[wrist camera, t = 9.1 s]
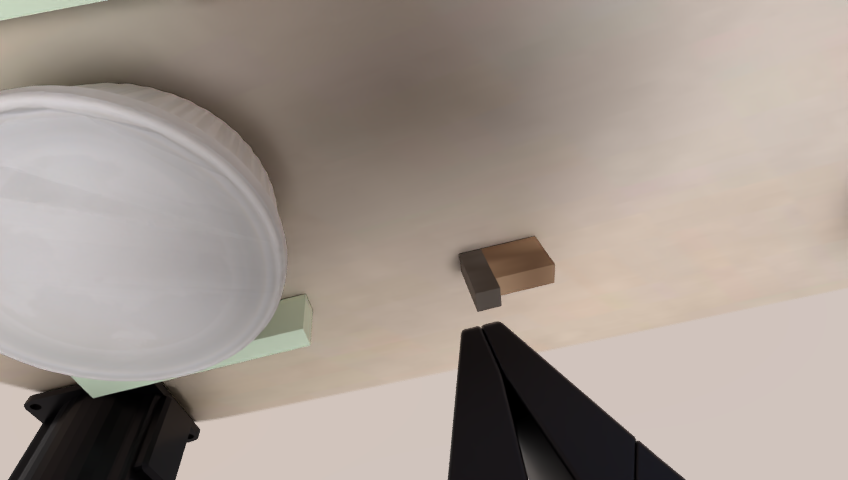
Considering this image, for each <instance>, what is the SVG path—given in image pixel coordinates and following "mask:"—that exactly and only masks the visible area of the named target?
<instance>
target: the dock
mask: <svg viewBox="0 0 848 480" xmlns="http://www.w3.org/2000/svg"><path fill="white" fill-rule="evenodd" d="M100 1H106V0H0V21H1V20H6V19H12V18H17V17H22V16H27V15H32V14H38V13H43V12H48V11H53V10H59V9H64V8H69V7H74V6H80V5H85V4H90V3H95V2H100ZM312 312H313V310H312V308H311V305H310V303H309V301H308V298H307V296H306V294H304V295H300V296H295V297H291V298H287V299H283V300H280V302H279V305H278V307H277V309H276V311H275V313H274V315H273V317H272V319H271V320H270V322H269V323H268V324H267V326H266V327H265V328H264V329H263V331H262V332H261V333H260V334H259V335H258V336H257V337H256V338H255V339H254V340H253V341H252V342H251V343H250V344H248V345H247V346H246V347H245V348H243V349H242V350H241V351H239V352H238V353H236V354H235V355H233V356H232V357H230V358H228V359H226V360H224V361H222V362H220V363H218V364H216V365H213V366H211V367H209V368H207V369H205V370H202V371H199V372H203V371H207V370H211V369H215V368H220V367H224V366H228V365H232V364H236V363H240V362H244V361H248V360H252V359H257V358H261V357H265V356H269V355H273V354H277V353H281V352H285V351H290V350H294V349H298V348H302V347H306V346H310V345H311V331H312ZM199 372H196V373H199ZM193 374H195V373H193ZM190 375H191V374H190ZM71 377H72V378H73V379H74V380H75V381H76V382H77V383H78V384H79V385H80V386H81V387H82V388H83V389H84V390H85V391H86V392H87V393H88V394H89V395H90V396H91V397H92V398H96V397H100V396H104V395H108V394H113V393H117V392H121V391H125V390H129V389H133V388H137V387H141V386H145V385H150V384H154V383H158V382H162V381H166V380H170V379H174V378H170V379H165V380H157V381H105V380H95V379H87V378H80V377H74V376H71Z"/></svg>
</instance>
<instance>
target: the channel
mask: <svg viewBox="0 0 848 480" xmlns="http://www.w3.org/2000/svg"><path fill="white" fill-rule="evenodd" d="M459 258H460V265H461V272H462V274H463V277H464V279H465V282H466V284H467V287H468V289H469V292H470V294H471V297H472V299H473V302H474V304H475V306H476V309H477V311H478V312H479V311H483V310H487V309H491V308H495V307H499V306H501V295H505V294H509V293H513V292H517V291H521V290H526V289H530V288H534V287H538V286H542V285H546V284H550V283H554V275H555V264H554V262H553V261H552V260H551V258H550V257H549V255H548V254H547V252H546V251H545V250H544V248H543V247H542V245H541V244H540V243H539V241H538V240H537V238H536V237H535V236H534V237H530V238H525V239H521V240H517V241H513V242H508V243H504V244H500V245H496V246H491V247H487V248H483V249H479V250H474V251H470V252H466V253H462V254H459Z"/></svg>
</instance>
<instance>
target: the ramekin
mask: <svg viewBox="0 0 848 480" xmlns="http://www.w3.org/2000/svg"><path fill="white" fill-rule="evenodd" d="M287 264H288V252H287V243H286V237H285V233H284V229H283V226H282V222H281V219H280V217H279V214H278V209H277V202H276V198H275V195H274V190H273V186H272V184H271V182H270V180H269V177H268V174H267V172H266V170H265V169H264V168H263V166H262V164H261V162H260V160H259V158H258V157H257V156H256V155H255V154H254V153H253V151H252V149H251V147H250V146H249V145H248V144H247V143H246V142H245V141H244V140H243V139H242V138H241V137H240V135H239V134H238V133H237V132H236V131H235V130H233V129H232V128H231V127H229V126H228V125H227V124H226V123H225V122H224V121H223V120H221V119H219V118H218V117H216V116H215V115H213V114H212V113H211V112H210V111H208V110H206V109H204V108H201V107H199V106H198V105H196V104H195V103H193V102H191V101H189V100H187V99H184V98H181V97H178V96H176V95H174V94H172V93H168V92H163V91H160V90H157V89H154V88H152V87H142V86H137V85H134V84H128V83H125V84H115V83H97V84H85V85H76V86H59V85H42V86H27V87H19V88H12V89H7V90H1V91H0V353H1V354H3V355H5V356H8V357H10V358H12V359H15V360H17V361H20V362H22V363H25V364H28V365H31V366H34V367H36V368H39V369H42V370H46V371H51V372H55V373H60V374H64V375H69V376H74V377H80V378H87V379H95V380H105V381H157V380H165V379H170V378H178V377H183V376H187V375H190V374H193V373H196V372H199V371H202V370H205V369H207V368H209V367H211V366H213V365H216V364H218V363H220V362H222V361H224V360H226V359H228V358H230V357H232V356H233V355H235V354H236V353H238V352H239V351H241V350H242V349H243V348H245V347H246V346H247V345H248V344H250V343H251V342H252V341H253V340H254V339H255V338H256V337H257V336H258V335H259V334H260V333H261V332H262V331H263V329H264V328H265V327H266V326H267V324H268V323H269V322H270V320H271V319H272V317H273V315H274V313H275V311H276V309H277V307H278V305H279V302H280V300H281V296H282V293H283V289H284V286H285V280H286V274H287Z"/></svg>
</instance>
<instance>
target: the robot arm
mask: <svg viewBox="0 0 848 480" xmlns="http://www.w3.org/2000/svg"><path fill="white" fill-rule="evenodd" d="M24 407H25V409H26V410H27V411H29V412H30V413H31V414H32V415H33V416H35V417H36V418H37V419H38V420H40V421H41V422H42V423H43V424H42V426H41V427H40V429H39V431H38V432H37V434H36V436H35V437H34V439H33V440H32V442H31V443H30V445H29V447H28V448H27V450H26V452H25V453H24V455H23V457H22V458H21V460H20V461H19V463H18V465H17V466H16V468H15V470H14V471H13V473H12V474H11V476H10V478H9V479H8V480H175V479H176V476H177V472H178V469H179V466H180V462H181V459H182V455H183V452H184V449H185V446H186V443H187V442H191V441H194V440H196V439H198V436H199V433H200V429H199V428H198V426H197V425H196V424H195V423H194V422H193V420H192V419H191V418H190V417H189V416H188V414H187V413H186V412H185V411H184V410H183V408H182V407H181V406H180V405H179V404H178V402H177V401H176V400H175V399H174V398H173V396H172V395H171V394H170V393H169V392H168V391H167V389H166V388H165V387H164V386H163V385H162V383H161V382H158V383H154V384H150V385H145V386H141V387H137V388H133V389H129V390H125V391H121V392H117V393H113V394H108V395H104V396H100V397H96V398H92V397H91V396H90V395H89V394H88V393H87V392H86V391H85V390H84V389H83V388H82V387H81V386H80V385H79V384H77V385H73V386H69V387H64V388H60V389H56V390H52V391H48V392H44V393H40V394H35V395H32V396H30V397H29V398H28V400H27V401H26V403H25V404H24ZM528 478H529V480H685V479H684V478H683V477H682V476H681V475H679V474H678V473H677V472H676V471H674V470H673V469H672V468H671V467H670V466H668V465H667V464H666V463H665V462H663V461H662V460H661V459H660V458H659V457H657V456H656V455H655V454H654V453H653V452H652V451H651V450H649V449H648V448H647V447H646V446H645V445H644V444H642V443H641V442H640V441H636V439H635V437H634V436H633V435H632V434H631V433H629V432H628V431H627V430H626V429H625V428H624V427H622V426H621V425H620V424H619V423H618V422H616V421H615V420H614V419H613V418H612V417H611V416H610V415H608V414H607V413H606V412H605V411H604V410H603V409H602V408H600V407H599V406H598V405H597V404H596V403H595V402H593V401H592V400H591V399H590V398H589V397H588V396H586V395H585V394H584V393H583V392H582V391H581V390H579V389H578V388H577V387H576V386H575V385H573V384H572V383H571V382H570V381H569V380H568V379H567V378H565V377H564V376H563V375H562V374H561V373H560V372H558V371H557V370H556V369H555V368H554V367H553V366H551V365H550V364H549V363H548V362H547V361H546V360H545V359H543V358H542V357H541V356H540V355H539V354H538V353H536V352H535V351H534V350H533V349H532V348H531V347H529V346H528V345H527V344H526V343H525V342H524V341H522V340H521V339H520V338H519V337H518V336H517V335H516V334H514V333H513V332H512V331H511V330H510V329H509V328H507V327H506V326H505V325H504V324H503V323H501V322H493V323H489V324H485V325H483V326H482V327H481V328H480V327H479V326H476V327H472V328H468V329H464V330H463V331H462V333H461V342H460V353H459V364H458V375H457V386H456V396H455V407H454V419H453V430H452V440H451V451H450V462H449V473H448V480H528Z"/></svg>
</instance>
